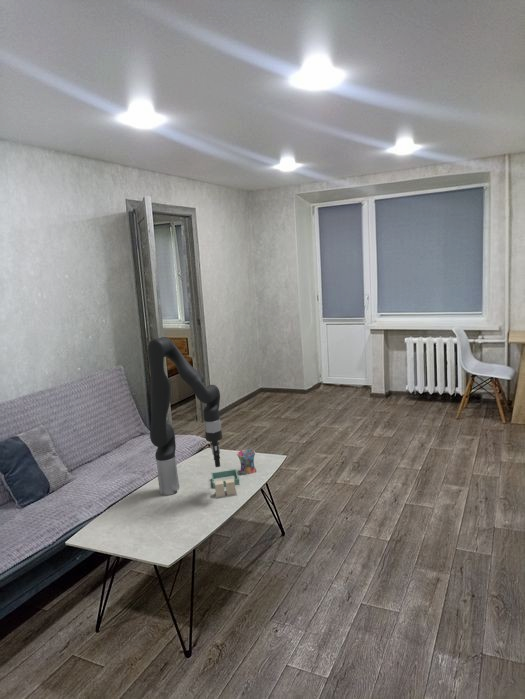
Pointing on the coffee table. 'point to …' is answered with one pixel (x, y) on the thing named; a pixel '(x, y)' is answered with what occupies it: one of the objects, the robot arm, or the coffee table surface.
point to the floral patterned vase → (247, 461)
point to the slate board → (225, 495)
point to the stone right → (230, 487)
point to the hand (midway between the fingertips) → (217, 463)
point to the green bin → (225, 474)
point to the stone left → (219, 488)
